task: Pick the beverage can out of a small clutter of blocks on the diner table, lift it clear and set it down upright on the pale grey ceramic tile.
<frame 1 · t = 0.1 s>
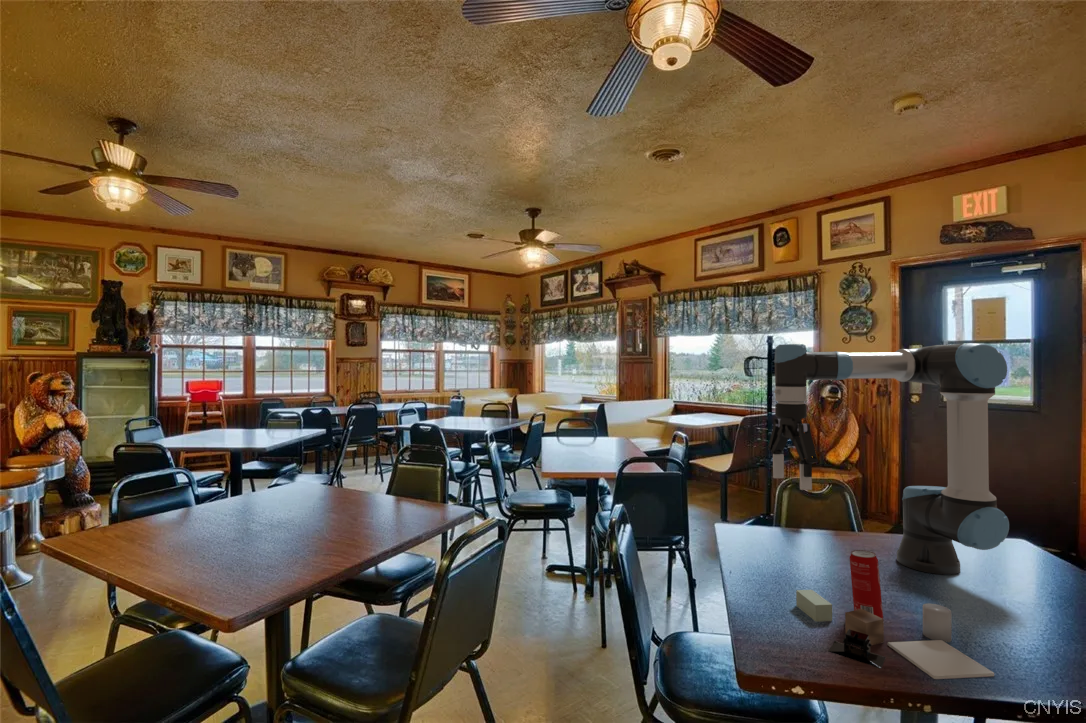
hand: (791, 483, 137), 28 cm above the table, fingers open, 13 cm apart
tile: (938, 659, 104), on the table
walnut block: (864, 639, 113), on the table
black angular piece: (857, 657, 106), on the table
beverage can: (866, 618, 122), on the table
sage brick: (813, 614, 124), on the table
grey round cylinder: (937, 636, 113), on the table
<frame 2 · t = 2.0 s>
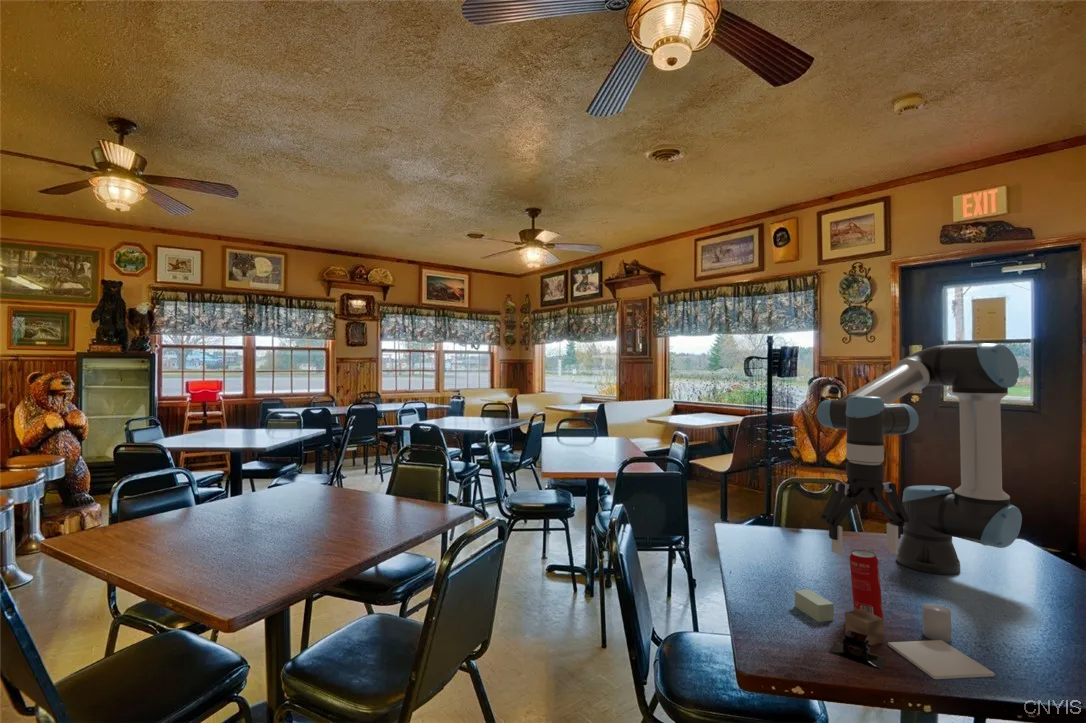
hand: (864, 553, 122), 15 cm above the table, fingers open, 13 cm apart
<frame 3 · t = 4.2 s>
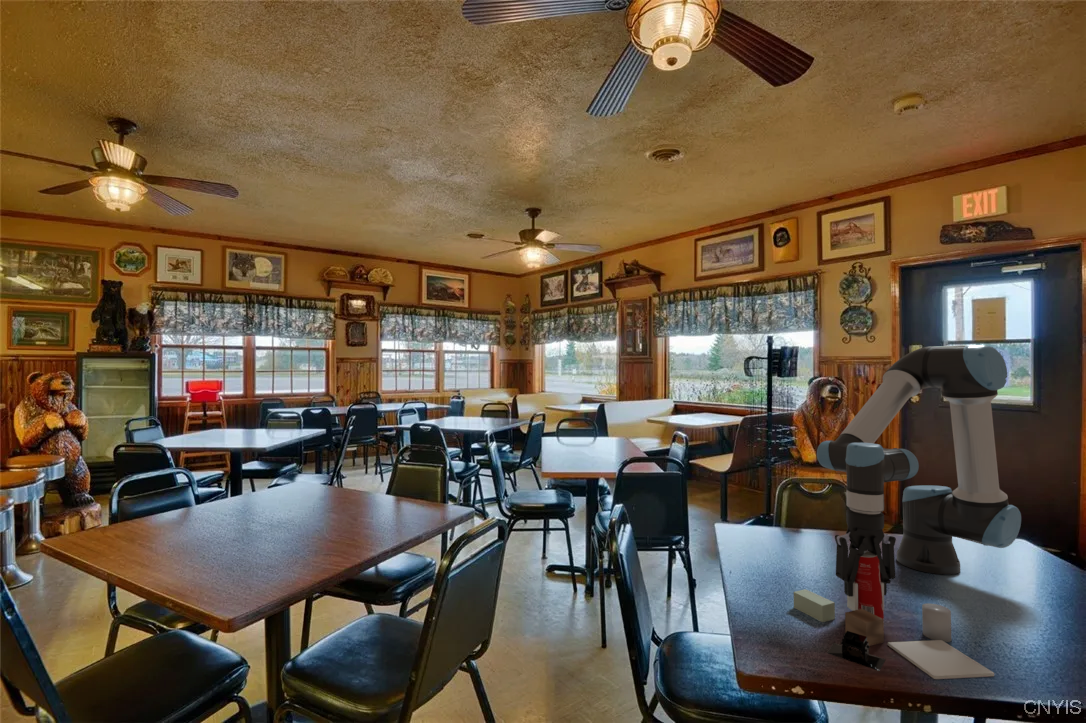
hand: (865, 608, 122), 2 cm above the table, fingers closed on beverage can, 6 cm apart
beverage can: (867, 618, 122), on the table, touching gripper
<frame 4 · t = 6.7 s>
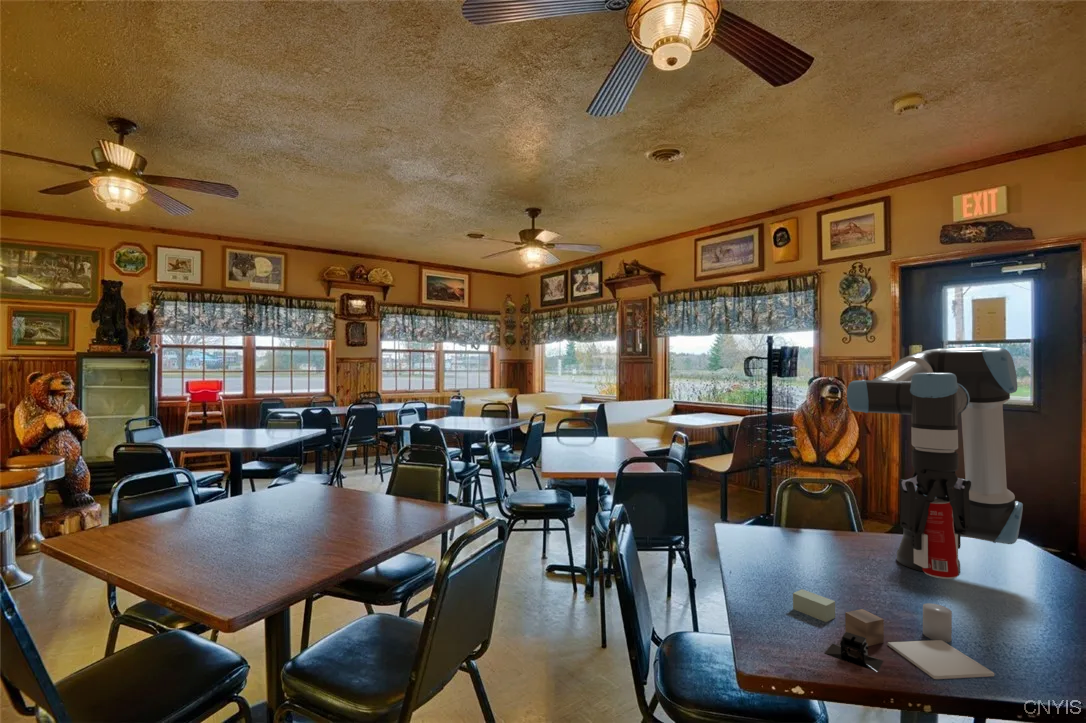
hand: (935, 564, 105), 19 cm above the table, fingers closed on beverage can, 6 cm apart
beverage can: (937, 575, 105), point 17 cm above the table, touching gripper
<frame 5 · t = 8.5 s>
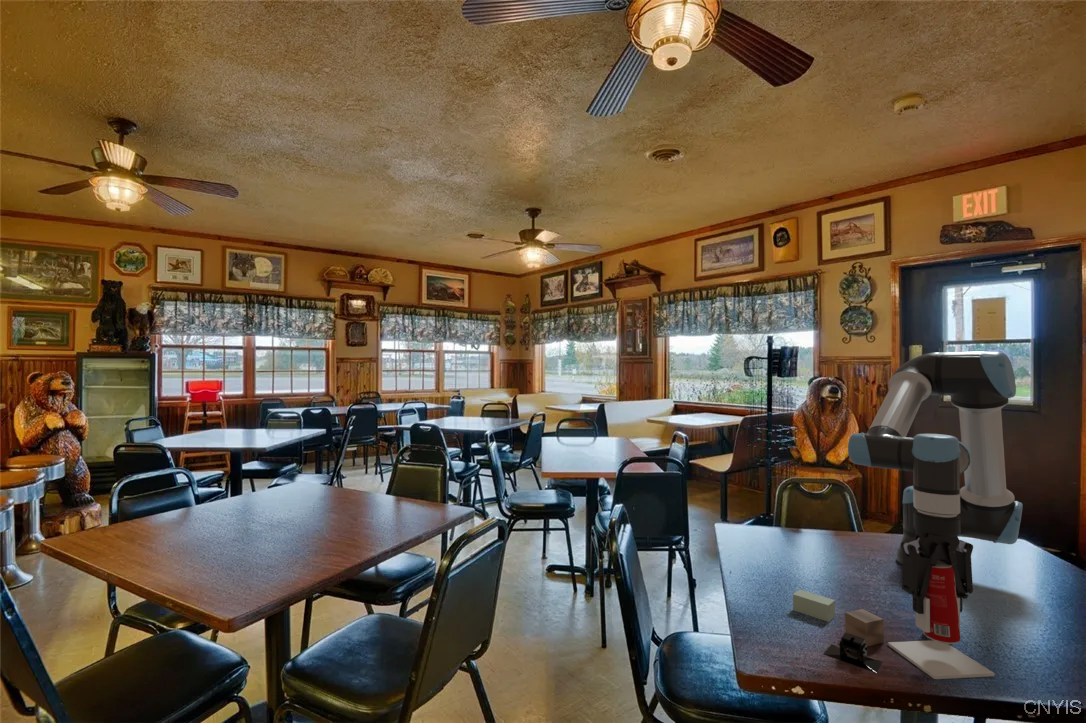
hand: (937, 628, 104), 6 cm above the table, fingers closed on beverage can, 6 cm apart
beverage can: (939, 638, 104), point 4 cm above the table, touching gripper
when the fingers open (4 cm above the table, at t = 9.6 s): beverage can drops 2 cm, resting on tile.
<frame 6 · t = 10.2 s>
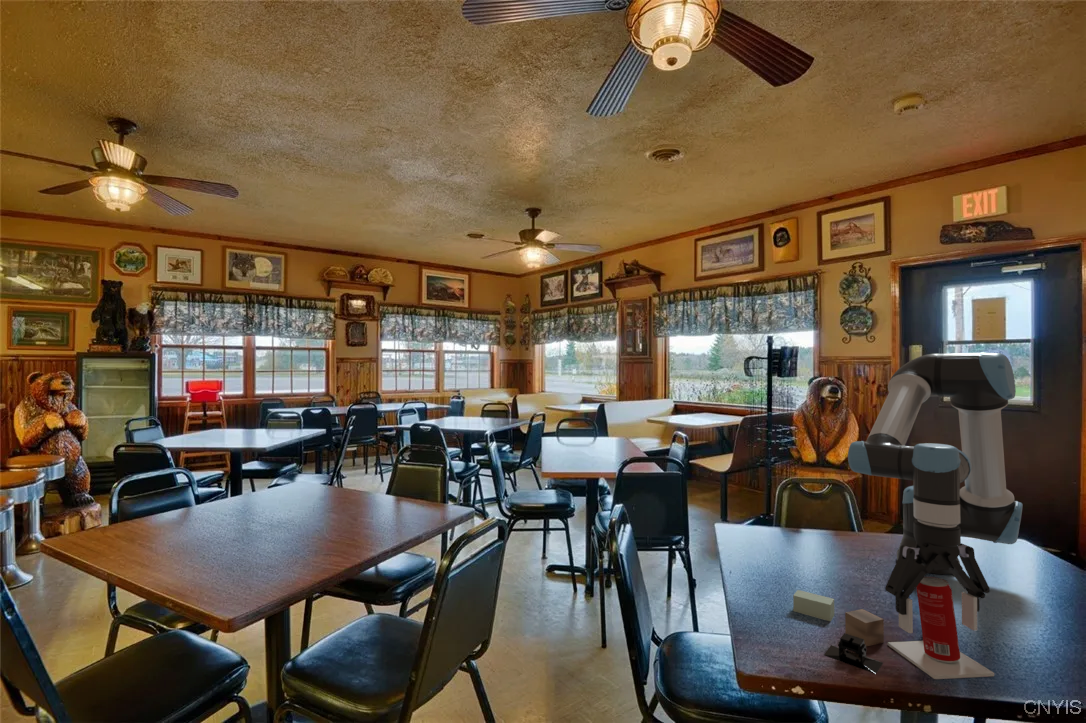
hand: (937, 628, 104), 6 cm above the table, fingers open, 13 cm apart
beverage can: (939, 657, 104), resting on tile
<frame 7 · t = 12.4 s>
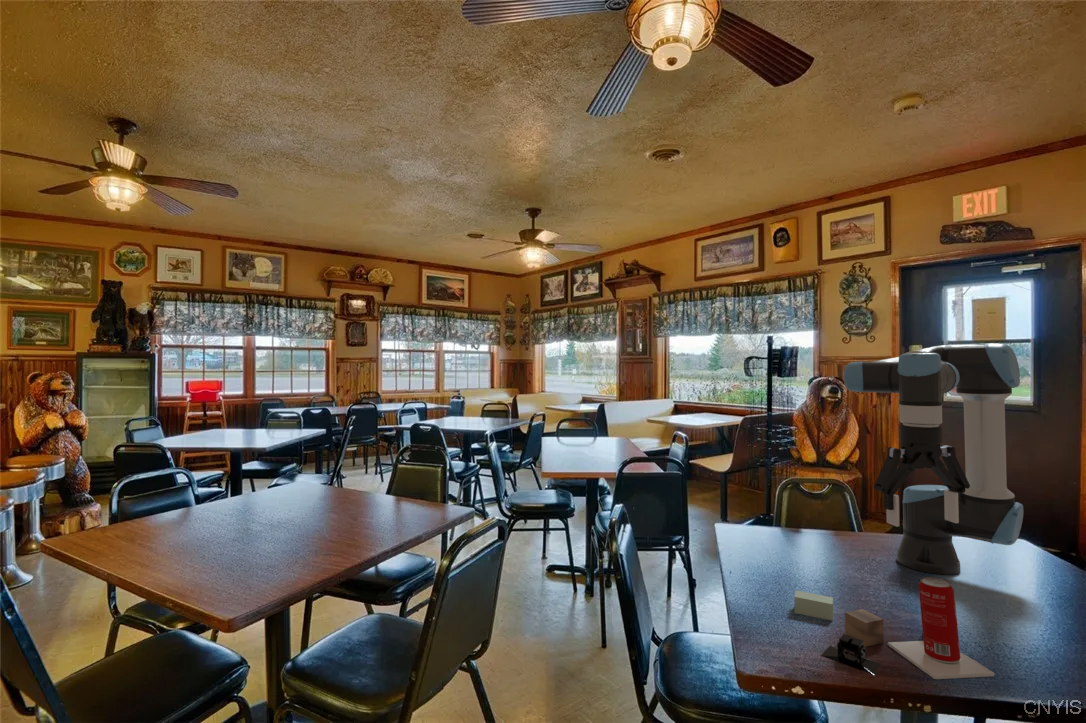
hand: (922, 523, 112), 25 cm above the table, fingers open, 13 cm apart
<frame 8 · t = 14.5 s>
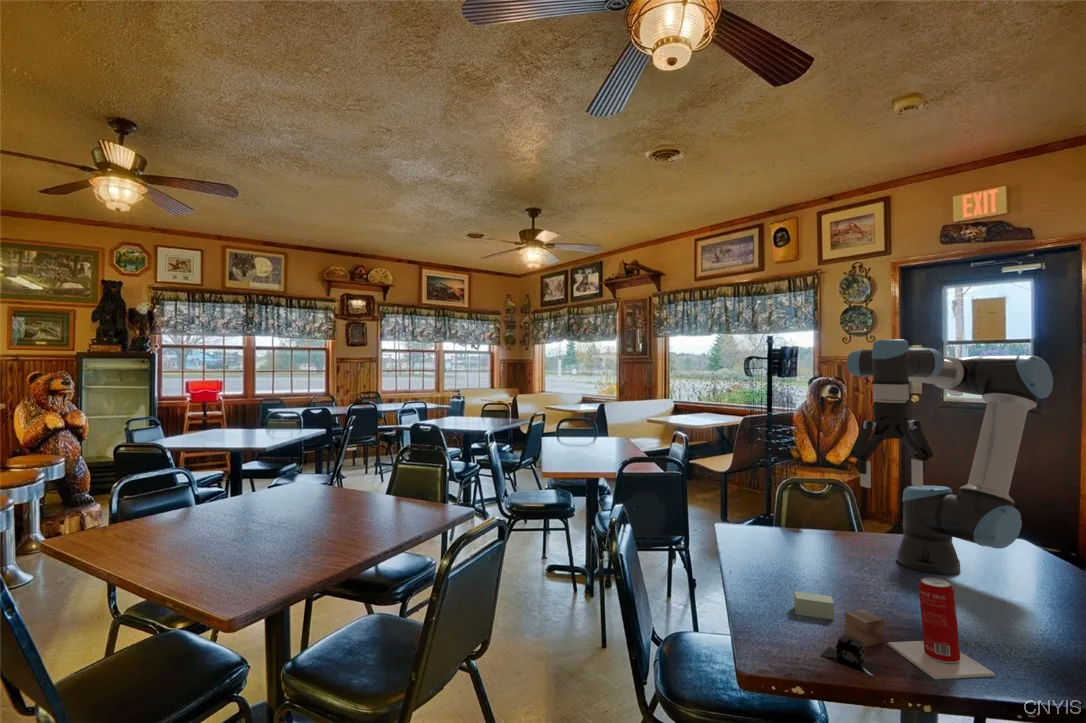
hand: (891, 486, 130), 29 cm above the table, fingers open, 13 cm apart
at the end: beverage can inside the target area on the tile (0.4 cm from its centre), point 0.4 cm above the tile's base; beverage can tilted 0°; the gripper is holding nothing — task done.
